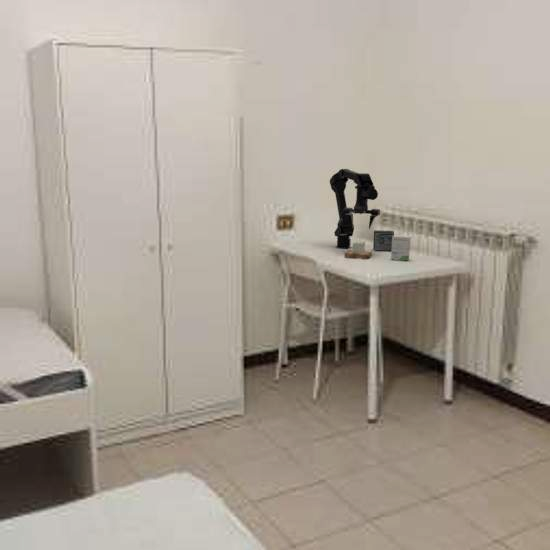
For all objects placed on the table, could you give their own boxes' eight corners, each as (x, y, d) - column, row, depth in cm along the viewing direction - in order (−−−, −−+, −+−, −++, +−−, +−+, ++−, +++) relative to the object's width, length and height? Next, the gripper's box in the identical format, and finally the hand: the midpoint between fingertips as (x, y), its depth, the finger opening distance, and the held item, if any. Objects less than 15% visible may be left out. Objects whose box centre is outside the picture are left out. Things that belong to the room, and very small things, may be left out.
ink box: (390, 259, 352) (391, 236, 350) (392, 258, 357) (393, 235, 355) (407, 261, 350) (409, 237, 347) (409, 259, 354) (410, 236, 352)
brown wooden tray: (344, 257, 357) (344, 252, 356) (349, 254, 366) (349, 249, 365) (367, 259, 353) (368, 254, 352) (372, 256, 362) (372, 251, 361)
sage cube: (352, 252, 357) (352, 242, 356) (354, 250, 362) (355, 241, 361) (362, 253, 356) (362, 243, 355) (364, 251, 360) (364, 242, 359)
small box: (392, 249, 381) (393, 230, 379) (393, 251, 375) (394, 232, 373) (373, 249, 382) (373, 229, 380) (373, 251, 376) (374, 231, 374)
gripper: (340, 198, 361) (339, 229, 364) (376, 200, 354) (375, 231, 358) (345, 196, 371) (344, 226, 374) (381, 198, 365) (379, 228, 368)
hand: (360, 228), depth 368 cm, fingers open, 9 cm apart
